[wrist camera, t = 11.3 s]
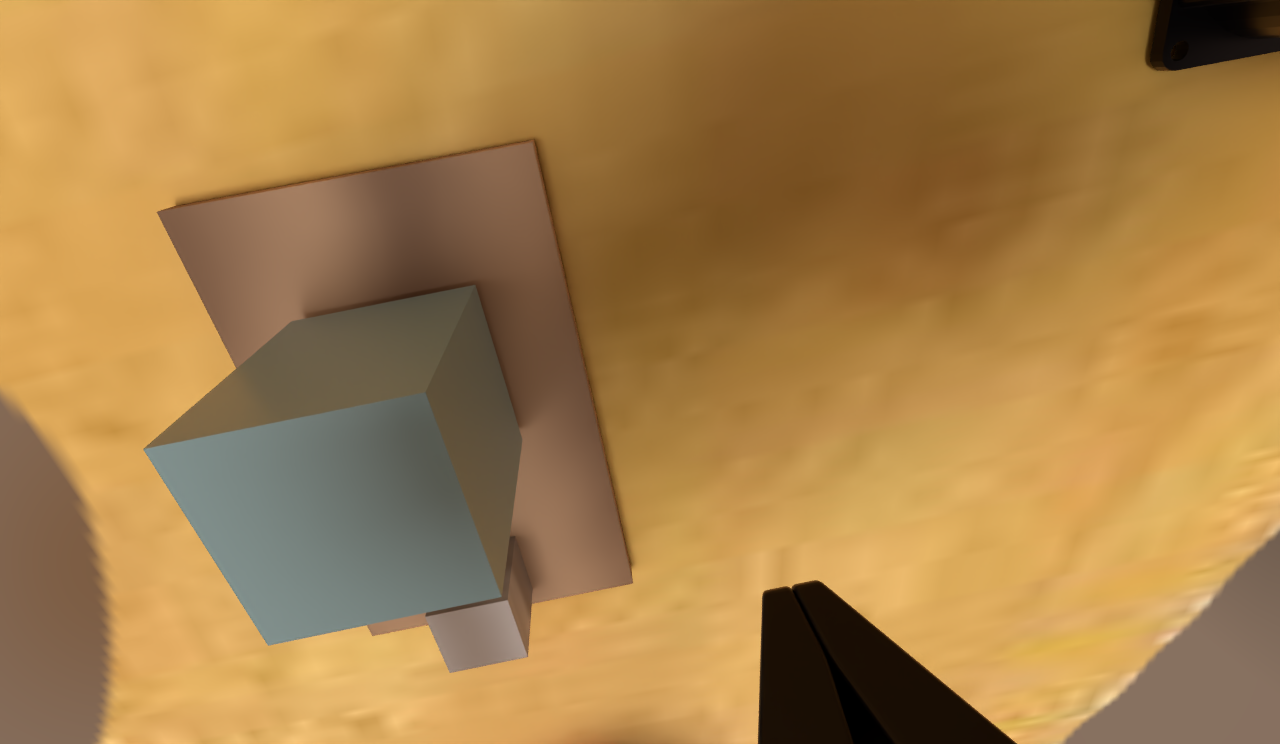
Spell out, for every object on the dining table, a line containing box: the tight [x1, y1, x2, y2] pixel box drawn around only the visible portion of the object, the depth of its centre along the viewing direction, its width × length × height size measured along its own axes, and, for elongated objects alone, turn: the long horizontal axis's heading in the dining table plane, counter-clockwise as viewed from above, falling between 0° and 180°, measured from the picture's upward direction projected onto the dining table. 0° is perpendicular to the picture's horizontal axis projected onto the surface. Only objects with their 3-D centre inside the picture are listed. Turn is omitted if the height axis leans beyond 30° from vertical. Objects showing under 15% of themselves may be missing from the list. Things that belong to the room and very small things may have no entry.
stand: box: [157, 140, 633, 673], centre depth 17 cm, size 10×16×7 cm, turn 9°
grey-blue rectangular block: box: [143, 285, 523, 646], centre depth 15 cm, size 5×5×7 cm
